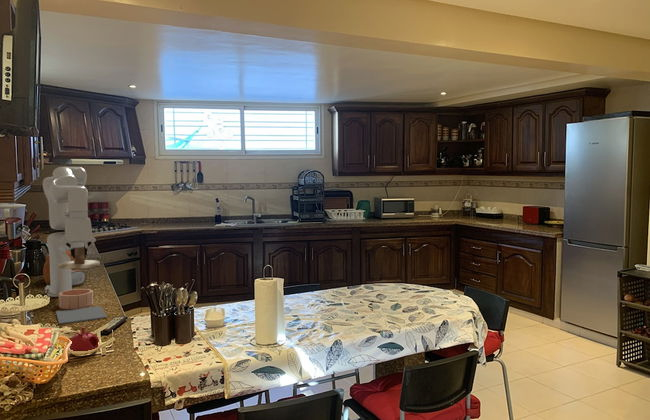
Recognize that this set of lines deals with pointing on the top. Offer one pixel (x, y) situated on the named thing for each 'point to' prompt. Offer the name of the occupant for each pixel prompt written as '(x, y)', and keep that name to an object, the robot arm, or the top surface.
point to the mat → (80, 315)
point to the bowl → (75, 298)
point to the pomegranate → (84, 341)
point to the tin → (78, 277)
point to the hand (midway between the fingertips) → (79, 257)
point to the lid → (79, 261)
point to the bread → (47, 267)
